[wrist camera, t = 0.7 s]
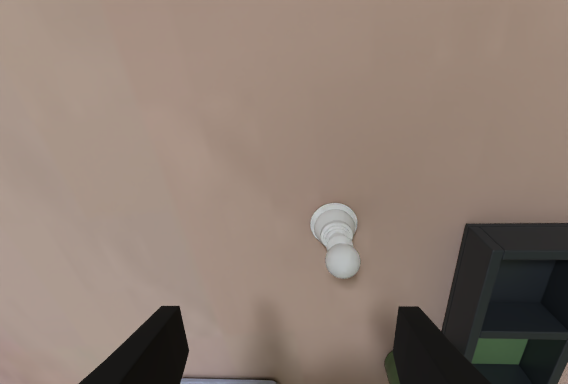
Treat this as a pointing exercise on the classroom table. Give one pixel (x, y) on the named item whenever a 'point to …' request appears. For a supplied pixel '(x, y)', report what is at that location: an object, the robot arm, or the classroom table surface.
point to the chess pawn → (337, 238)
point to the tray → (512, 301)
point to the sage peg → (391, 369)
